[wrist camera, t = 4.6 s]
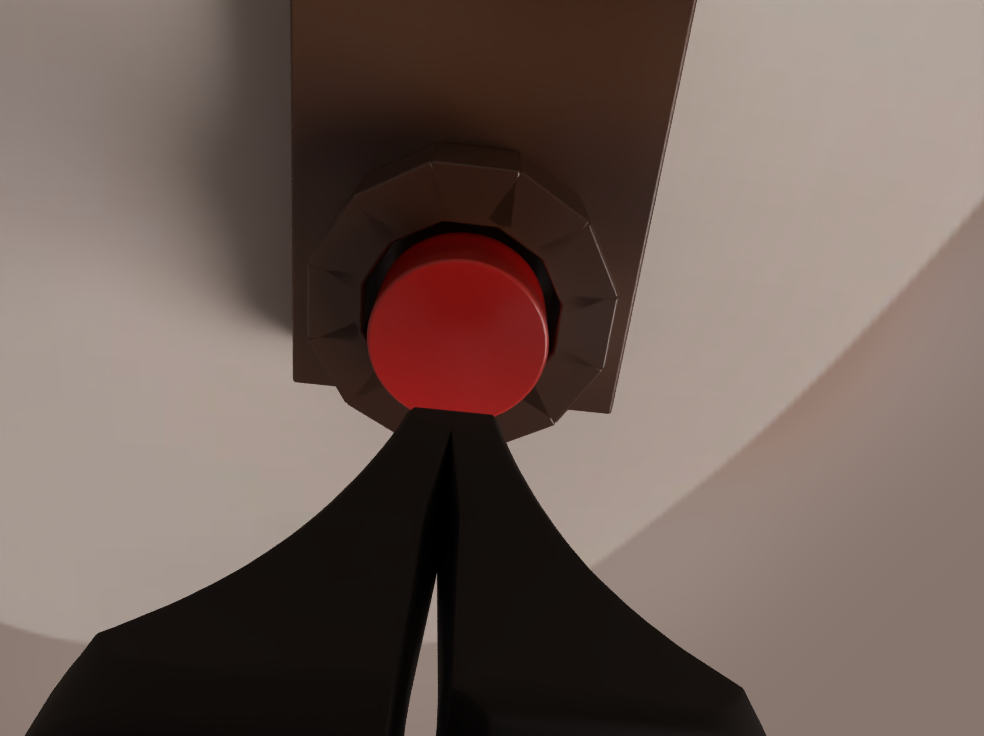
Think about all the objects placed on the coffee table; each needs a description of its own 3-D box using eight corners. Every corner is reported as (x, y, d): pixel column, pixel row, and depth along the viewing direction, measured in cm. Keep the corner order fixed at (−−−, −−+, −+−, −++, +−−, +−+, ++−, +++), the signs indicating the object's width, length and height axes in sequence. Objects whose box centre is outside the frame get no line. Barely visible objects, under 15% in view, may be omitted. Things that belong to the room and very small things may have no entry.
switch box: (599, 382, 22) (619, 464, 18) (311, 353, 22) (273, 430, 18) (680, -29, 17) (727, -26, 14) (313, -74, 17) (263, -84, 13)
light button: (532, 392, 18) (536, 432, 16) (375, 375, 18) (362, 415, 16) (556, 240, 16) (562, 270, 15) (382, 221, 16) (369, 249, 15)
